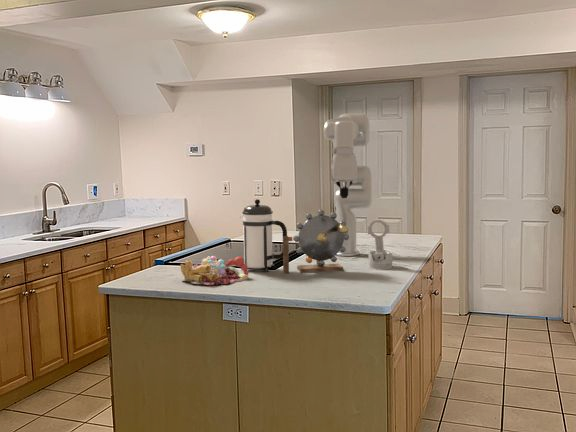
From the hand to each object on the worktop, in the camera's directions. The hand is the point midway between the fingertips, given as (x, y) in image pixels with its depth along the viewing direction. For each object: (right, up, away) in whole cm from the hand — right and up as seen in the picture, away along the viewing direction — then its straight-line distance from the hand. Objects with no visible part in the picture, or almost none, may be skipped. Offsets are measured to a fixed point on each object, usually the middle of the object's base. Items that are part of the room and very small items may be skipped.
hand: (344, 197), depth 241 cm
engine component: (+17, -29, +16) cm, 37 cm away
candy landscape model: (-52, -33, -4) cm, 62 cm away
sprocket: (-8, -29, +4) cm, 30 cm away
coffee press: (-34, -30, +13) cm, 47 cm away
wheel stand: (-13, -30, +10) cm, 34 cm away
